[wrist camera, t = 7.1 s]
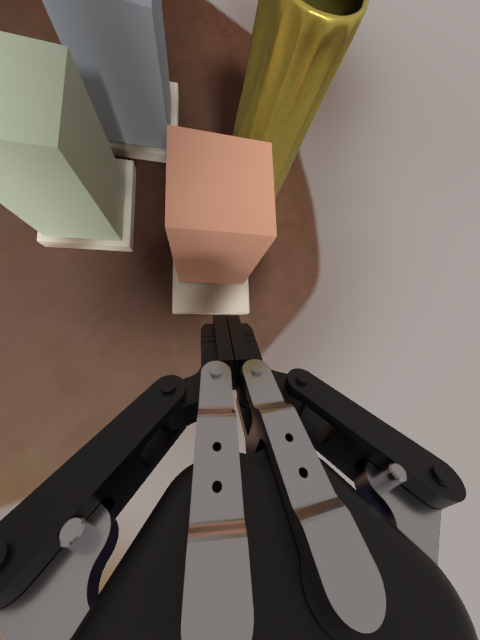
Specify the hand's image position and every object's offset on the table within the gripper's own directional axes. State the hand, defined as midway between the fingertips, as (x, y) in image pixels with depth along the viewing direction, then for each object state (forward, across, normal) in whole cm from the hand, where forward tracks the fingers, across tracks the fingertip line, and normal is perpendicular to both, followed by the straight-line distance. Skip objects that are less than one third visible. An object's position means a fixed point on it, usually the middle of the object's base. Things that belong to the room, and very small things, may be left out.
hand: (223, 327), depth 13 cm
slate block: (+20, +7, -11) cm, 24 cm away
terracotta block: (+10, 0, -1) cm, 10 cm away
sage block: (+13, +11, -3) cm, 17 cm away
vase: (+17, -4, -5) cm, 18 cm away
